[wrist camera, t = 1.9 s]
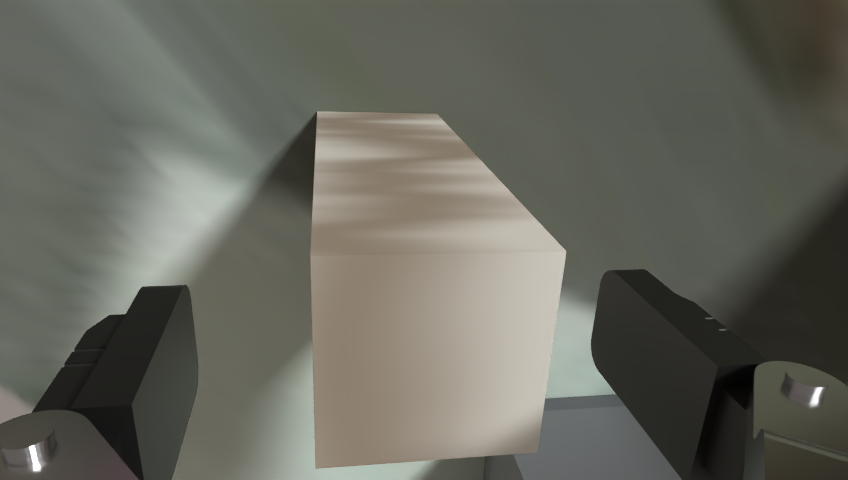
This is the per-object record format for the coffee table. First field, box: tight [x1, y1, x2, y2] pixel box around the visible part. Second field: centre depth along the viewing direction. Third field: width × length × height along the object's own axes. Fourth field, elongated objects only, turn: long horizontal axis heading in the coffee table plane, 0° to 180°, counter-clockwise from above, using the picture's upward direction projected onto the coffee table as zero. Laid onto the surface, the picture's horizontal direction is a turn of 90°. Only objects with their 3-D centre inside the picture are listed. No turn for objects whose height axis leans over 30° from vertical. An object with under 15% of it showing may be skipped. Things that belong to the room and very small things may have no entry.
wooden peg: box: [310, 111, 566, 469], centre depth 16 cm, size 4×4×12 cm
